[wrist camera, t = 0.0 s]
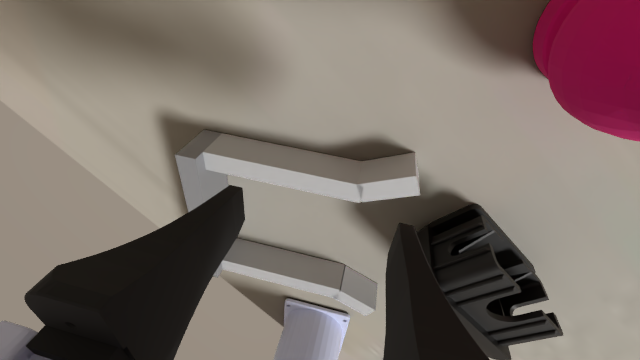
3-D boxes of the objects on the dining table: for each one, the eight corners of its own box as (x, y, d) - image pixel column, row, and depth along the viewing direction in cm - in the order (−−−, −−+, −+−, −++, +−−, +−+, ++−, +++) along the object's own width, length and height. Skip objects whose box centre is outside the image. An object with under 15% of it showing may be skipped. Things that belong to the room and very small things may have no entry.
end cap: (396, 233, 27) (395, 301, 22) (473, 196, 23) (493, 268, 18) (461, 294, 30) (473, 367, 25) (538, 270, 26) (572, 352, 21)
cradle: (374, 291, 32) (371, 327, 29) (223, 253, 34) (205, 283, 31) (424, 154, 22) (427, 187, 19) (200, 110, 24) (169, 134, 21)
